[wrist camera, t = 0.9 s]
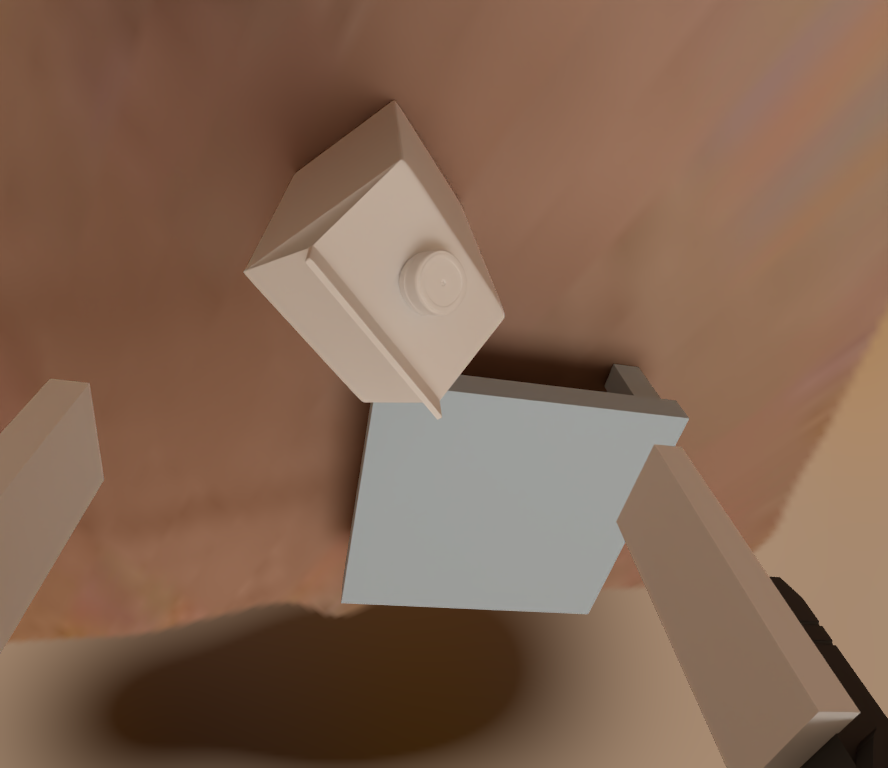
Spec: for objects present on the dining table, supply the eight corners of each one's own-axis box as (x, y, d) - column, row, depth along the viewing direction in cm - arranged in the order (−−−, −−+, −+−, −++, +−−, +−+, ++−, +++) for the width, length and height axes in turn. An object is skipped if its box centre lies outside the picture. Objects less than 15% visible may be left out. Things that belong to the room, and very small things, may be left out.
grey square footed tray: (345, 532, 50) (341, 603, 44) (377, 326, 39) (376, 382, 33) (565, 547, 53) (588, 614, 47) (647, 362, 43) (689, 418, 37)
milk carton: (368, 268, 37) (358, 466, 21) (293, 173, 33) (215, 323, 18) (462, 206, 35) (529, 367, 19) (394, 98, 32) (408, 188, 16)
